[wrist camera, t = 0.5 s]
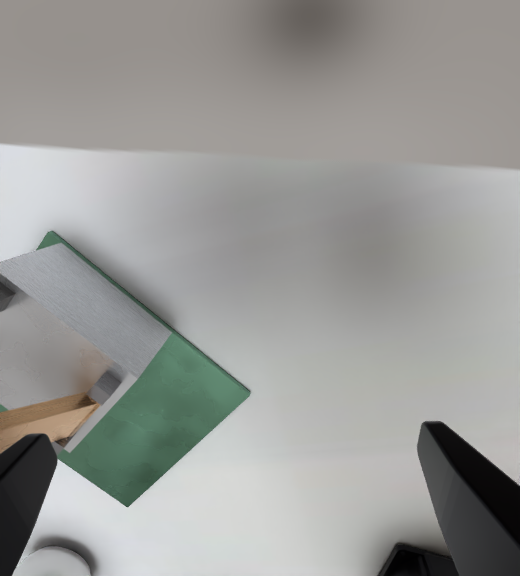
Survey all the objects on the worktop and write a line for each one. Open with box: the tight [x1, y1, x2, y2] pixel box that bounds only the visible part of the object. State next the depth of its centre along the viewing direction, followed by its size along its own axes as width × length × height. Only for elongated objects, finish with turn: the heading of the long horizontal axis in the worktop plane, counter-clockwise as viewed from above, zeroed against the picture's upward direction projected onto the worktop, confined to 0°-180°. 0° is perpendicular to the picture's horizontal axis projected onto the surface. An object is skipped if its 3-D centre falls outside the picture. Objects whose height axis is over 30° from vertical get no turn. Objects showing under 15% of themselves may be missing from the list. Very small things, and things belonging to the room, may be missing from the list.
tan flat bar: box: [0, 391, 100, 453], centre depth 15 cm, size 8×3×1 cm
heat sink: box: [0, 231, 250, 507], centre depth 23 cm, size 17×16×8 cm
